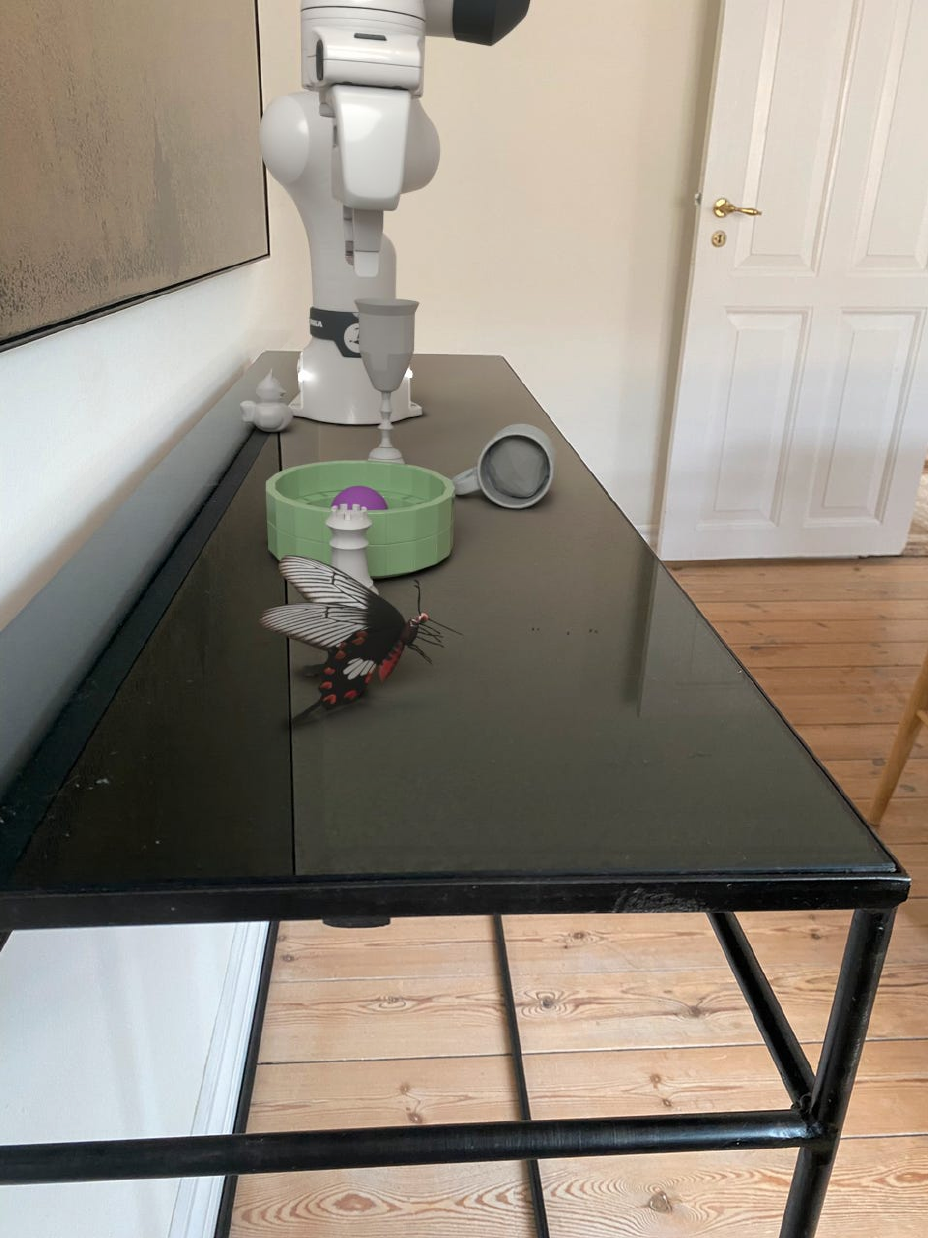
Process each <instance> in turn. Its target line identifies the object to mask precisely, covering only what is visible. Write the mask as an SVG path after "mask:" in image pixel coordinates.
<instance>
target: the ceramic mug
mask: <svg viewBox="0 0 928 1238" xmlns="http://www.w3.org/2000/svg"><path fill="white" fill-rule="evenodd" d="M556 458H557V457H556V450H555V447H554V445H553V442H552V440H551V439H550V437H549V436H548V435H547V433H546V432H544V431H543V430H542V429H540V428H539V427H536V426H534V425H532V424H528V423H513V424H510V425H508V426H505V427H503V428H502V429H500V430H499V431H497V432H496V433H495V435H494V436H493V437H492V438H491V439H490V440H489V441H488V442H487V443H486V444H485V446H484V447H483V448H482V450H481V452H480V454H479V457H478V458H477V464H476V466H474V467H472V468H470V469H467V470H465V471H463V472H461V473H459V474H457V475H455V476H454V477H453V478H452V479H450V480H451V482H452V483H453V485H454V486H455V496H462V495H467V494H471V493H473V492H474V493H475V492H477V491H480V490H481V491H482V492H483V494H484V495H485V496H486V497H487V498H488V499H489V500H490V501H491V502H493V503H494V504H496V505H498V506H501V507H504V508H507V509H524V508H527V507H531V506H533V505H534V504H537V503H538V502H539V501H540V500H541V499H542V498H543V497H544V496H545V495H546V494H547V493H548V491H549V490H550V488H551V485H552V483H553V479H554V475H555V467H556V461H557V459H556Z"/></svg>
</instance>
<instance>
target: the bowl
mask: <svg viewBox="0 0 928 1238" xmlns="http://www.w3.org/2000/svg"><path fill="white" fill-rule="evenodd" d="M451 480H452V479H450V478H449V477H447V476H445V475H443V474H441V473H439V472H438V471H435V470H432V469H428V468H425V467H422V466H419V465H414V464H408V463H407V464H406V463H404V464H401V463H395V462H383V461H370V460H368V459H364V460H363V459H361V460H359V459H358V460H355V459H353V460H351V459H350V460H349V459H348V460H347V459H346V460H342V459H341V460H332V461H331V460H329V461H320V462H319V461H318V462H312V463H306V464H302V465H296V466H292V467H289V468H287V469H284V470H281V471H278V472H276V473H273V475H271V477H269V478H268V479H266V481H265V502H266V503H265V505H266V506H265V507H266V525H267V527H266V528H267V529H266V530H267V548H268V551H269V552H270V553H271V554H273V556H274V557H275V558H276V560H278V561H279V562H280V561H281V559H282V557H284V556H286V555H295V556H302V557H308V558H311V559H315V560H318V561H321V562H323V563H326V564H329V565H331V562H332V546H331V545H330V544H329V541H330V540H331V539H332V531H331V530H330V529H329V527H328V526H327V525H326V523H325V522H326V520H327V519H328V517H329V516H330V515H331V509H330V507H331V504H332V502H333V500H334V499H335V497H336V496H337V495H338V494H339V493H340V492H341V491H343V490H344V489H346V488H349V487H352V486H366V487H369V488H372V489H374V490H375V491H377V492H378V493H379V494H380V495H381V496H382V497H383V499H384V500H385V502H386V504H387V507H388V510H367V516H368V517H369V518H370V519H371V521H372V525H371V526H370V527H369V529H368V530H367V531H366V534H365V535H366V539H367V540H368V541H369V544H368V546H367V547H366V558H367V565H368V572H369V575H370V578H371V580H377V579H379V580H380V579H388V578H395V577H399V576H400V577H401V576H405V575H409V574H411V573H414V572H418V571H420V570H423V569H426V568H428V567H431V566H435V565H437V564H438V563H440V562H441V561H443V560H444V559H446V558H447V557H449V556H450V554H451V551H452V549H453V547H454V537H455V534H454V533H455V511H456V510H455V508H456V494H455V486H454V485H453V483H452V482H451ZM338 511H340V509H338ZM360 511H361V510H360Z"/></svg>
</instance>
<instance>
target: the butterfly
mask: <svg viewBox="0 0 928 1238" xmlns="http://www.w3.org/2000/svg"><path fill="white" fill-rule="evenodd" d="M278 569H279V572H280V574H281V575H282V577H283V578H284V579H285V580H286V581H287V582H288V583H289V584H290V585H291V586H292V587H293V588H294V589H295V591H296V592H297V593H298V594H299V595H300V596H301V597H302V598H303V599H304V600H305V601H301V602H291V603H286V604H280V605H275V606H272V607H268V608H266V609H265V610H263V612H262V613H261V615H260V616H259V620H258V622H259V623H260V626H262V627H263V628H265V629H266V630H269V631H272V632H274V633H277V634H280V635H282V636H284V637H286V638H288V639H291V640H293V641H296V642H299V643H301V644H304V645H307V646H309V647H312V648H314V649H318V650H322V651H324V652H327V658H326V660H325V661H324V663H318V664H314V665H313V664H312V665H304V666H303V667H302V674H304V676H305V677H314V676H315V675H317V674H319V676H320V680H321V683H320V685H319V686H318V687H317V690H318V691H319V693H320V694H321V695H320V698H319V699H318V700H317V701H316V702H315V703H313V704H312V705H310V706H309V707H307V708H306V709H304V710H303V711H302V712H301V713H298V714H296V715H295V716H294V717H293V718H291V721H290V724H291V725H292V724H293V725H294V724H297V723H299V722H301V721H302V720H305V719H306V717H308V716H309V714H310V713H312V712H313V711H315V710H317V709H319V708H323V709H325V710H327V711H328V710H331V709H333V708H335V707H337V706H338V705H342V704H343V705H349V704H352V703H354V702H355V701H357V700H359V698H360V695H362V692H363V690H364V689H365V688H366V686H367V685H368V683H369V681H370V680H371V678H372V676H373V674H374V672H375V671H376V670H377V669H378V675H379V680H380V682H384V681H385V680H386V679H387V678H388V677H389V676H390V675H391V674H392V673H393V671H394V670H395V668H396V666H397V665H398V662H400V660H401V657H402V655H403V652H404V650H405V647H407V649H409V650H412V651H416V652H417V653H418V654H419V655H420V656H422V658H423V659H425V660H426V661H427V662H428V663H429V664H430V665H431V666H433V660H431V658H430V657H429V656H427V655H426V653H425V652H424V651H423V650H422V649H421V648H420V647H419V646H418V645H416V644H414V642H415V641H416V639H419V640H421V641H424V642H426V643H428V644H431V645H434V646H439V647H440V648H445V647H444V645H442V640H440V639H439V638H443V639H444V636H443V635H441V634H442V633H441V632H440V631H438V630H436V629H435V628H433V627H431V626H429V625H427V624H426V622H427V621H429V622H432V623H434V624H436V625H438V626H440V627H443V628H445V629H447V630H449V631H452V633H453V632H454V633H456V634H458V635H460V636H464V634H462V633H460V632H459V631H456V630H454V629H452V628H450V627H449V626H445V625H443V624H441V623H440V622H437V621H435V620H433V619H431V618H430V617H428V615H427V613H422V611H421V607H420V606H421V587H420V582H419V580H417V579H413V582H415V583H416V584H414V585H413V586H414V588H416V589H417V590H418V594H417V612H418V615H417V616H414V617H411V618H409V619H408V620H407V621H406V619H405V618H404V616H403V615H402V614H401V612H400V611H399V610H398V609H397V607H395V606H394V605H392V604H391V602H390V601H388V600H386V599H385V598H383V597H382V596H380V594H379V595H378V594H376V593H375V592H373V591H372V590H370V589H369V588H367V587H366V586H364V585H363V584H361V583H360V582H358V581H357V580H355V579H353V578H352V577H350V576H349V575H347V574H346V573H344V572H343V571H341V570H339V569H337V568H335V567H333V566H331V565H329V564H326V563H323V562H321V561H318V560H315V559H311V558H308V557H302V556H295V555H286V556H284V557H282V559H281V561H280V560H279V562H278ZM421 626H423V627H426V628H428V629H430V630H433V631H434V632H435V633H437V634H434V633H431V632H430V631H428V630H427V629H426V628H423V627H421ZM419 629H420V630H422V631H420V630H419ZM418 634H421V635H425V636H430V637H433V638H434V639H435V640H436V641H437V642H438V643H436V642H433V641H431V640H427V639H426V638H424V637H421V636H419V635H418ZM437 637H439V638H437Z"/></svg>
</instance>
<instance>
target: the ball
mask: <svg viewBox="0 0 928 1238" xmlns="http://www.w3.org/2000/svg"><path fill="white" fill-rule="evenodd" d="M340 504H347V510H353V504H358V505H360V510H361V507H366V508H367V510H388V507H387V504H386V502H385V500H384V499H383V497H382V496H381V495H380V494H379V493H378V492H377V491H375V490H374V489H372V488H369V487H366V486H352V487H349V488H346V489H344V490H343V491H341V492H340V493H339V494H338V495H337V496H336V497H335V499H334V500H333V502H332V504H331V507H333V506H338V509H340ZM331 507H330V509H331Z"/></svg>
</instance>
